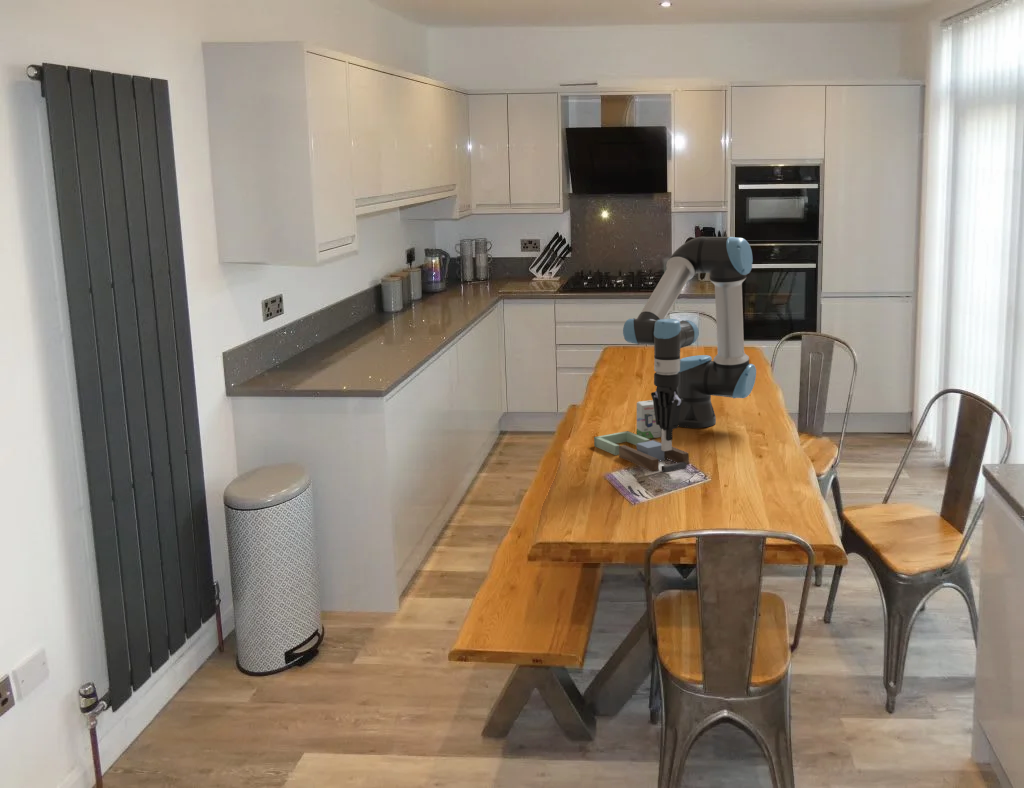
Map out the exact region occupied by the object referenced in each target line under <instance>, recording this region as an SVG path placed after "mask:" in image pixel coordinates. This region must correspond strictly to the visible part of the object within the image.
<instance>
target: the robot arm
mask: <svg viewBox="0 0 1024 788" xmlns="http://www.w3.org/2000/svg"><path fill="white" fill-rule="evenodd" d="M753 261H754V259H753V251H752V248H751V245H750V243H749V242H748V241H747V240H746V239H745V238H743V237H735V236H697V237H695V238H692V239H689V240H687V241H686V242H685V243H683V244H681V246H679V247H678V248H677V249H676V250H675V251H674V252H673V253H672V254H671V255H670V257H669V258H668V260H667V262H666V264H665V265H666V269H665V271H664V273H663V274H662V276H661V278H660V280H659V282H658V283H657V285H656V286H655V288H654V290H653V291H652V293H651V295H650V297H649V298H648V299H647V302H646V303H645V304H644V306H643V308H642V309H641V311H640V313H639V315H638V316H637V318H628V319H627V320H625V321H624V324H623V327H622V328H623V329H622V334H623V337H624V338H623V339H624V340H625V342H626V343H630V344H635V345H646V346H647V345H648V346H649V345H650V346H652V345H653V346H654V347H653V349H654V350H653V351H654V356H653V359H654V360H653V361H654V363H653V365H654V367H653V368H654V370H653V371H654V373H653V385H654V386H655V387H656V389H655V391H653V392H651V393H650V396H651V399H652V400H653V404H654V412H655V419H656V424H657V425H659V426H660V428H661V437H660V438H661V441H660V442H661V450H662V451H669V450H672V447H673V445H672V442H673V430H675V429H678V427H681V428H688V429H689V428H691V429H701V428H702V429H703V428H709V427H712V426H714V425H716V423H717V417H716V414H715V410H714V406H713V404H712V398H711V397H713V396H715V397H724V398H730V399H745V398H748V396H750V394H751V393H752V391H753V388H754V386H755V383H756V377H757V368H756V366H755V364H753V363H750V356H749V355H748V354H746V352H745V341H744V338H745V337H744V313H743V311H744V310H743V307H744V306H743V283H744V281H745V280H746V279H747V275H748V274H750V273H751V271H752V268H753ZM696 274H709V281H710V282H711V283H712V284H713V285H714V297H715V298H714V299H715V320H716V322H715V323H716V343H717V344H716V346H717V354H716V355H715V356H714V357H713V358H712V356H710V355H707V354H702V355H701V354H700V355H691V356H687V357H682V358H681V349H682V348H685V347H689V346H691V345H692V344H694V343H695V342H696V341H697V340H698V338H699V334H700V333H699V331H700V330H699V328H698V326H697V324H696V323H695V322H694V321H693V320H687V319H686V320H679V319H676V318H667V317H668V315H669V313H670V311H671V310H672V307H673V306H674V304H675V302H676V301H677V299H678V297H679V296H680V293H682V290H683V289H684V287H685V285H686V284H687V282H688V281H690V280H692V279H693V277H694V276H695V275H696ZM712 359H713V360H712ZM659 420H660V421H659Z"/></svg>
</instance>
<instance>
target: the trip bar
mask: <svg viewBox="0 0 1024 788" xmlns="http://www.w3.org/2000/svg"><path fill="white" fill-rule="evenodd" d="M687 466H688V465H687V463H686V462H679V463H676V462H674V463H670V464H669V463H668V464H666V465H664V464H663V465H661V472H663V473H667V472H672V471H678V470H682V469H687Z"/></svg>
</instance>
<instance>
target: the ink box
mask: <svg viewBox="0 0 1024 788" xmlns="http://www.w3.org/2000/svg"><path fill="white" fill-rule="evenodd" d="M659 421H660V420H659ZM636 434H637V435H639V436H642V437H645V438H647V439H650V440H651V439H657V438H661V428H660V426H659V425H657V424H656V419H655V412H654V404H653V399H652V400H651V399H649V400H642V401H640V400H639V401H637V402H636Z"/></svg>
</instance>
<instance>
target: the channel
mask: <svg viewBox="0 0 1024 788" xmlns="http://www.w3.org/2000/svg"><path fill="white" fill-rule="evenodd" d="M652 440H653V441H655V442H658V443H661V441H660V440H657V439H650V440H649V441H652ZM618 456H619V458H621V459H624V460H626V461H628V462H630V463H632V464H635V465H637V466H639V467H641V468H643V467H644V469H646V470H649V471H650V472H653V473H654V472H659V469H660V467H659V466H660V461H659V459H657V458H655V457H652V456H650V455H647V454H645V453H642V452H640V451H638V450H637V449H635V448H632V447H630V446H629V445H626V444H622V445H620V446H619V455H618ZM689 457H690V453H689V452H687V451H685V450H682V449H680V448H677V447H674V446H672V450H669V451H664V459H666V458H668V459H667V460H669V459H670V460H669V461H671V460H672V462H674V461H675V462H674V463H676V462H677V463H679V462H686V463H687V464H688V465H689V464H690V462H689V461H690V458H689Z"/></svg>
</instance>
